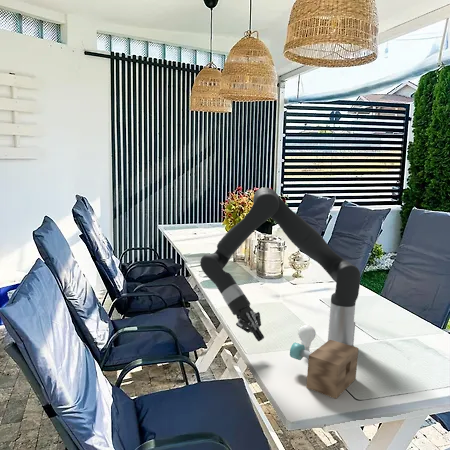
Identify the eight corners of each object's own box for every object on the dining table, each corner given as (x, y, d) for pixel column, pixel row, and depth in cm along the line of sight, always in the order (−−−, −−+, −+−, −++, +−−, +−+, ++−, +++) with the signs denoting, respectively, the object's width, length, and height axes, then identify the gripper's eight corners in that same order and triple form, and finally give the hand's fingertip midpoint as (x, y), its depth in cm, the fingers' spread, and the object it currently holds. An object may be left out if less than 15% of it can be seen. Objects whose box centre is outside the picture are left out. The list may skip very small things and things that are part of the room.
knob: (289, 359, 151) (290, 345, 150) (296, 354, 155) (297, 340, 154) (330, 374, 142) (331, 358, 141) (337, 368, 146) (338, 353, 145)
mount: (301, 385, 143) (303, 353, 141) (322, 367, 155) (325, 338, 153) (336, 398, 136) (338, 365, 134) (355, 379, 148) (358, 347, 146)
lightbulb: (312, 349, 169) (314, 322, 167) (315, 357, 163) (318, 328, 161) (295, 349, 169) (297, 321, 167) (298, 357, 163) (300, 328, 161)
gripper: (231, 298, 158) (258, 340, 153) (251, 290, 168) (277, 329, 163) (218, 308, 162) (244, 350, 157) (239, 300, 172) (264, 339, 167)
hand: (261, 339), depth 160 cm, fingers closed
